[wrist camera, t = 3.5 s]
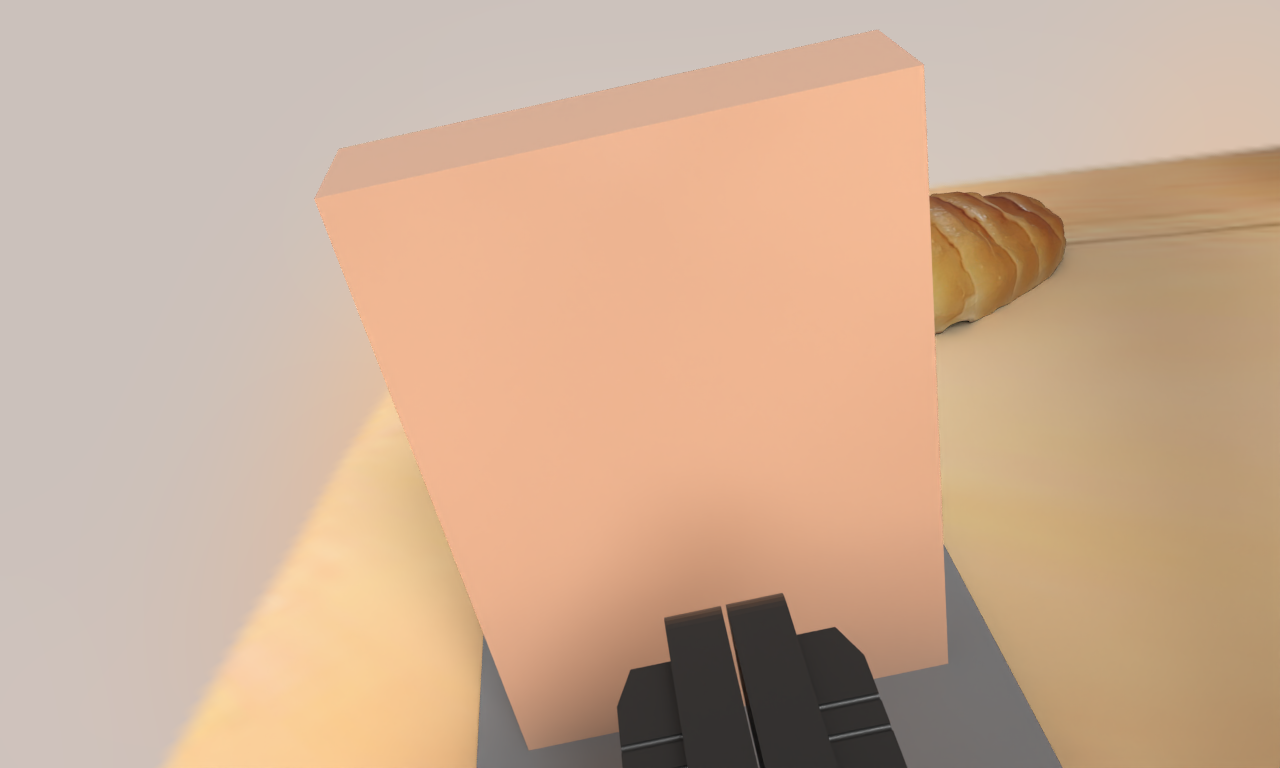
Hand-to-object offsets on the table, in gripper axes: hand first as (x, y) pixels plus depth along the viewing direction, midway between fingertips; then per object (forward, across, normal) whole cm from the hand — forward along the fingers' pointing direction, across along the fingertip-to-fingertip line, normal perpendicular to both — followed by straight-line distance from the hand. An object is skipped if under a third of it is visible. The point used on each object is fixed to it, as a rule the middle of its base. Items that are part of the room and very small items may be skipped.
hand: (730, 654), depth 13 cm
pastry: (+25, -11, +10) cm, 29 cm away
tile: (+8, 0, +9) cm, 13 cm away
